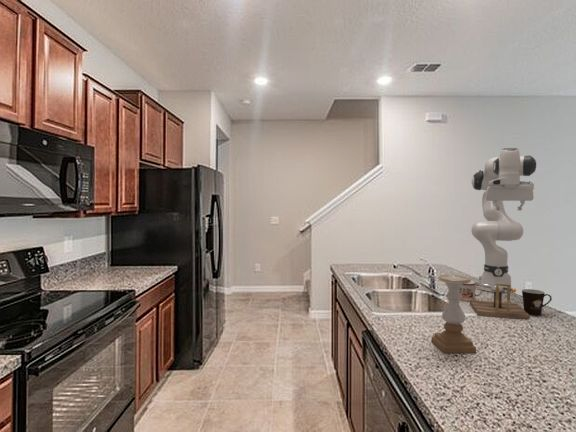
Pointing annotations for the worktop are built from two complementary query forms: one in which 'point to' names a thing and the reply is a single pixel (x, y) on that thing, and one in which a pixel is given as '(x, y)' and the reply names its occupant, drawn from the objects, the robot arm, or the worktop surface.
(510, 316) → the stand
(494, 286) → the grey rod with dome
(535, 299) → the coffee mug
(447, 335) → the candle holder
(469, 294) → the teacup with lid
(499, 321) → the worktop surface
